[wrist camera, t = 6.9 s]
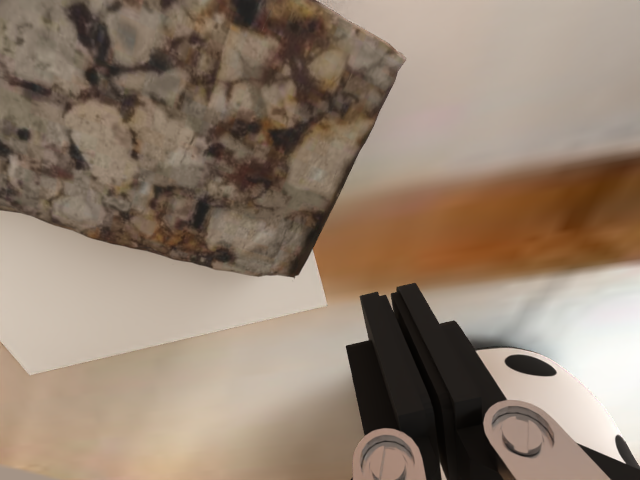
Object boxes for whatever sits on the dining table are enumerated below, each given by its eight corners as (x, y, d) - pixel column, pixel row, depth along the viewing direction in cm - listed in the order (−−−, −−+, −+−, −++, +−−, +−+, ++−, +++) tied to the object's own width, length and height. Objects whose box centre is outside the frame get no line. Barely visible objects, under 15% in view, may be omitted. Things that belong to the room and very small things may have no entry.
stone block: (377, 52, 20) (-70, -195, 14) (432, 39, 13) (-348, -425, 7) (285, 256, 24) (-86, 134, 18) (295, 320, 18) (-273, 164, 12)
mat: (220, -98, 15) (218, -101, 15) (327, 303, 25) (327, 305, 25) (-259, 29, 16) (-268, 29, 16) (32, 372, 26) (29, 375, 26)
